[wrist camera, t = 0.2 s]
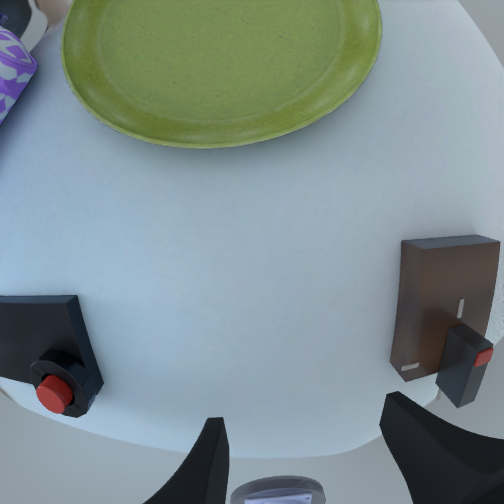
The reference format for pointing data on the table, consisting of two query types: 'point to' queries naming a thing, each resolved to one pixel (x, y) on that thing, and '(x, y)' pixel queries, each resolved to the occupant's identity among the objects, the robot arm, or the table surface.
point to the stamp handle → (463, 364)
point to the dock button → (54, 394)
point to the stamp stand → (441, 298)
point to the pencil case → (13, 68)
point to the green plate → (216, 65)
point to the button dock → (49, 346)
